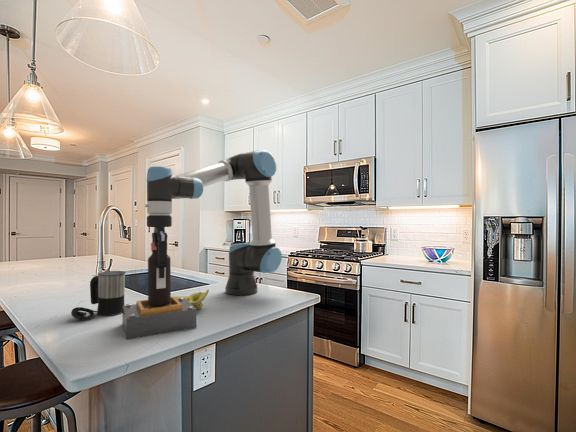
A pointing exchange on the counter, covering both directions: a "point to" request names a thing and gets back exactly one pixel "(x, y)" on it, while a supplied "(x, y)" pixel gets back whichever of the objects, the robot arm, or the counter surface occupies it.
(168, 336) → the counter surface
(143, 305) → the gray fixture block
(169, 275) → the vinegar
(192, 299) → the yellow-green irregular piece
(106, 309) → the milk frother
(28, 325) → the counter surface
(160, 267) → the robot arm
